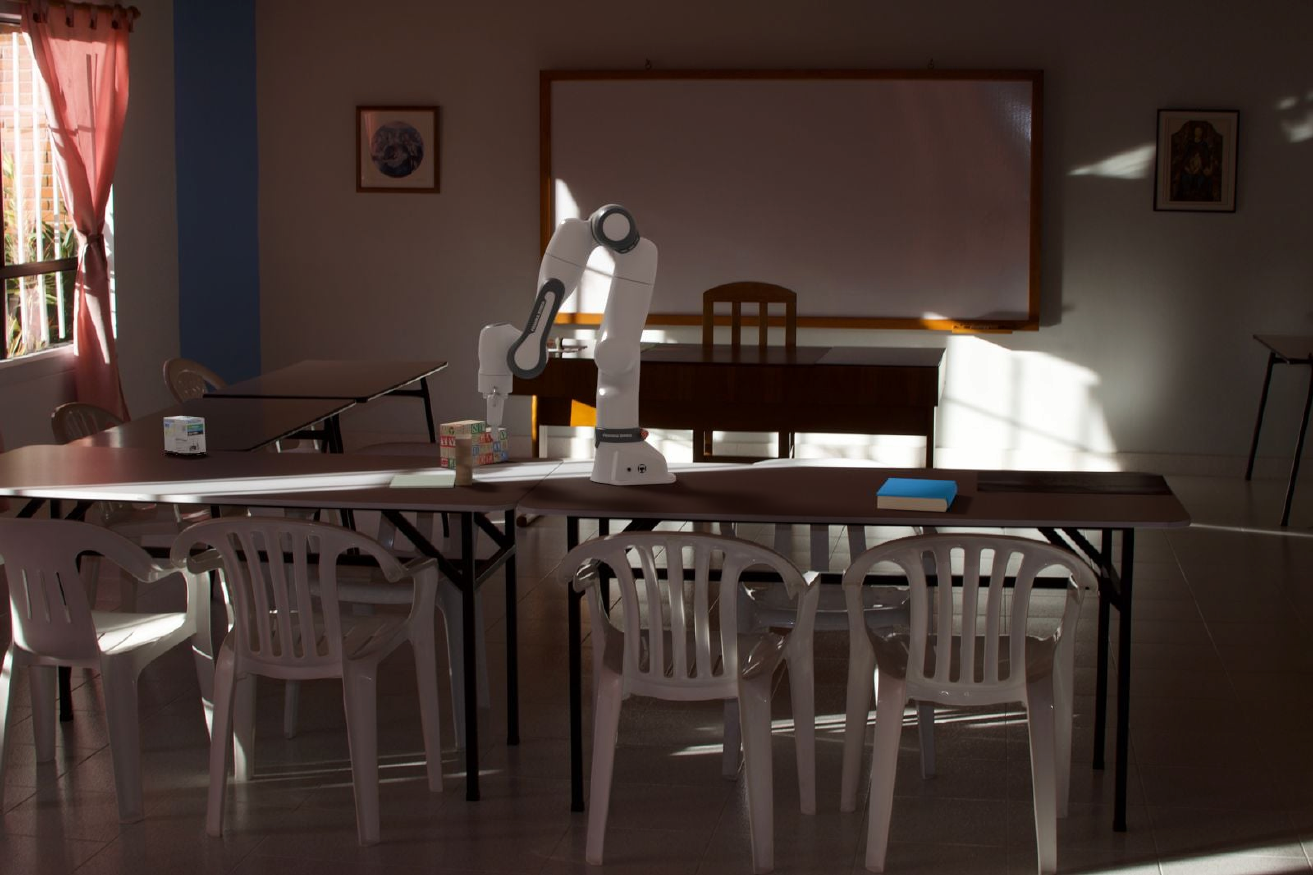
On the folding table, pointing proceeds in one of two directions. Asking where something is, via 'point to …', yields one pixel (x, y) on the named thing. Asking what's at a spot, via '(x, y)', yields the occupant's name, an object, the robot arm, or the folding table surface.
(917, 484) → the book
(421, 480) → the mat
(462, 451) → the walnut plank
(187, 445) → the light bulb box
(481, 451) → the stack of blocks
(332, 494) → the folding table surface
